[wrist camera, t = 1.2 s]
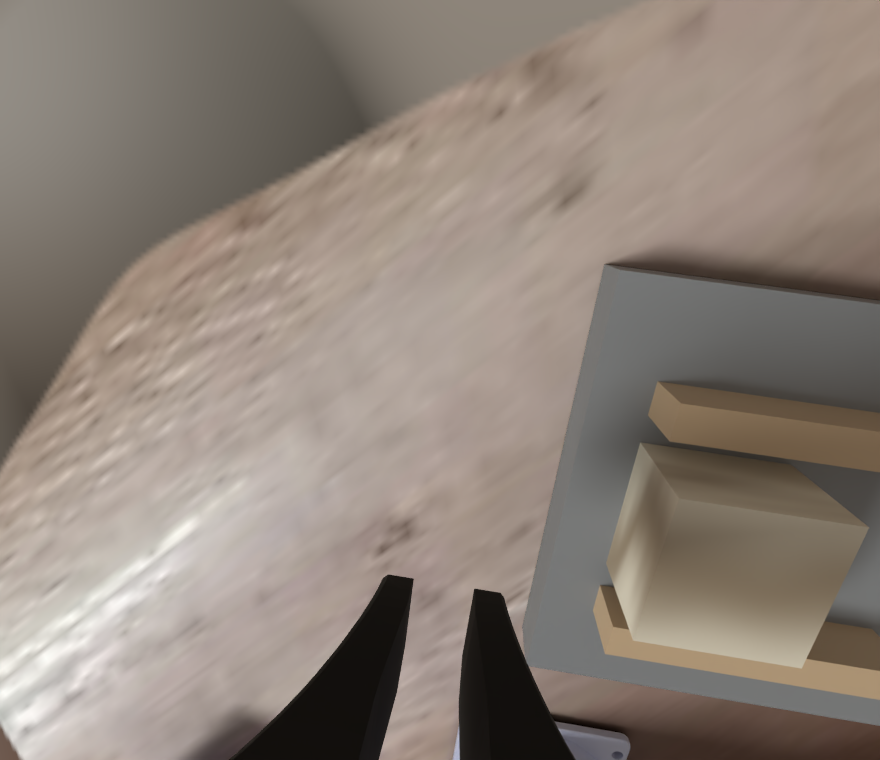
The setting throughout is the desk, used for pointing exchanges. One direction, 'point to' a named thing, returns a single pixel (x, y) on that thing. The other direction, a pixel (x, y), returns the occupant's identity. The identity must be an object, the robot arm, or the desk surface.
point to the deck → (721, 432)
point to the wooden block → (729, 555)
